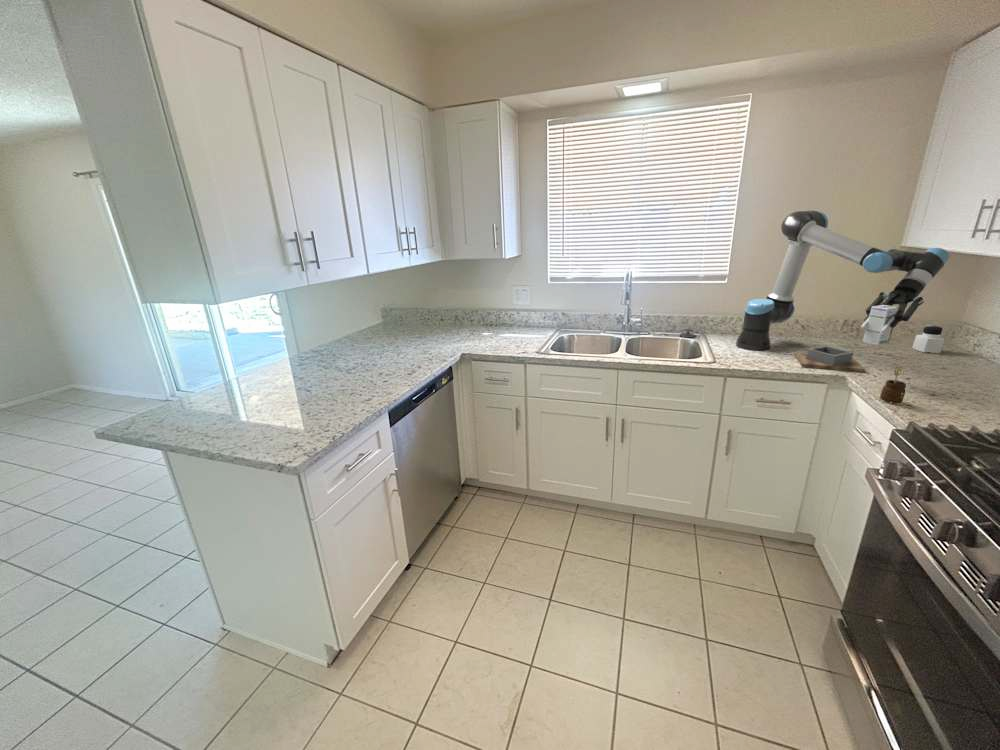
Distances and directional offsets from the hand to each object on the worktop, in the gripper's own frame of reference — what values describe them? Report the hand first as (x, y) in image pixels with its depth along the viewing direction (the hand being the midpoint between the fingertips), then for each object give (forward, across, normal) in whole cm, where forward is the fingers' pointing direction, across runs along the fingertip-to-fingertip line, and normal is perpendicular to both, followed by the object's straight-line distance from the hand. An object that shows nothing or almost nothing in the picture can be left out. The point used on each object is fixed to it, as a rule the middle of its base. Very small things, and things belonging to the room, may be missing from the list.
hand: (872, 330), depth 159 cm
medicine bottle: (-33, +11, -62) cm, 71 cm away
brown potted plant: (+23, -17, -6) cm, 29 cm away
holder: (+7, +18, -20) cm, 28 cm away
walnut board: (+8, +18, -21) cm, 29 cm away
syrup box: (+1, 0, -6) cm, 7 cm away
